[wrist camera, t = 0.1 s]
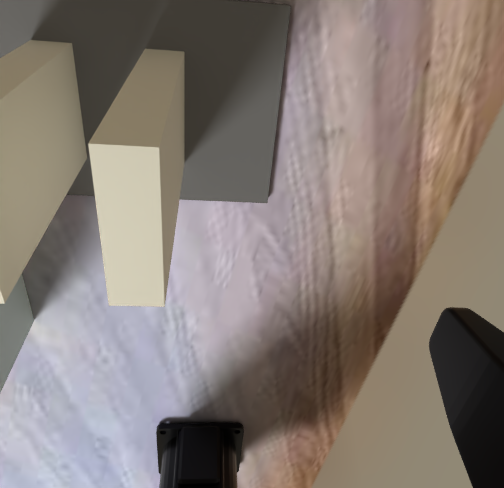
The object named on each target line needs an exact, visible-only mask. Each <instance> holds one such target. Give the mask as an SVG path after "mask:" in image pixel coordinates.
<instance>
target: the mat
mask: <svg viewBox="0 0 504 488" xmlns="http://www.w3.org/2000/svg"><path fill="white" fill-rule="evenodd" d="M290 9H291V6H290V5H285V4H273V3H262V2H250V1H239V0H0V58H1V57H3V56H5V55H6V54H8V53H10V52H11V51H13V50H15V49H16V48H18V47H20V46H21V45H23V44H25V43H26V42H28V41H30V40H38V41H51V42H64V43H72V47H73V55H74V62H75V70H76V77H77V85H78V93H79V100H80V108H81V115H82V123H83V130H84V138H85V146H86V153H87V159H86V161H85V163H84V164H83V166H82V168H81V170H80V171H79V173H78V175H77V177H76V178H75V180H74V182H73V184H72V186H71V187H70V189H69V191H68V193H67V194H66V195H89V196H95V193H94V185H93V177H92V169H91V162H90V154H89V146H88V143H89V141H90V140H91V138H92V136H93V135H94V133H95V131H96V130H97V128H98V126H99V125H100V123H101V121H102V120H103V118H104V116H105V115H106V113H107V111H108V110H109V108H110V106H111V105H112V103H113V101H114V100H115V98H116V96H117V95H118V93H119V91H120V90H121V88H122V86H123V85H124V83H125V81H126V80H127V78H128V76H129V75H130V73H131V71H132V70H133V68H134V66H135V65H136V63H137V61H138V60H139V58H140V56H141V55H142V53H143V51H144V50H145V49H157V50H170V51H183V52H184V170H183V177H182V184H181V191H180V198H179V199H183V200H206V201H230V202H253V203H267V202H268V193H269V185H270V177H271V168H272V160H273V151H274V143H275V135H276V126H277V118H278V110H279V101H280V93H281V85H282V76H283V68H284V59H285V51H286V43H287V34H288V26H289V18H290Z"/></svg>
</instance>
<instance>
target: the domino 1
mask: <svg viewBox="0 0 504 488" xmlns="http://www.w3.org/2000/svg"><path fill="white" fill-rule="evenodd" d="M33 322H34V318H33V314H32V310H31V306H30V302H29V299H28V295H27V291H26V287H25V283H24V279H23V276H22V274H21V276H20V277H19V279H18V281H17V283H16V284H15V286H14V288H13V290H12V292H11V293H10V295H9V297H8V299H7V300H6V302H5V304H0V392H1V390H2V388H3V386H4V384H5V382H6V379H7V377H8V375H9V373H10V371H11V369H12V367H13V364H14V362H15V360H16V358H17V356H18V354H19V352H20V350H21V347H22V345H23V343H24V341H25V339H26V337H27V335H28V332H29V330H30V328H31V326H32V324H33Z"/></svg>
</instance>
